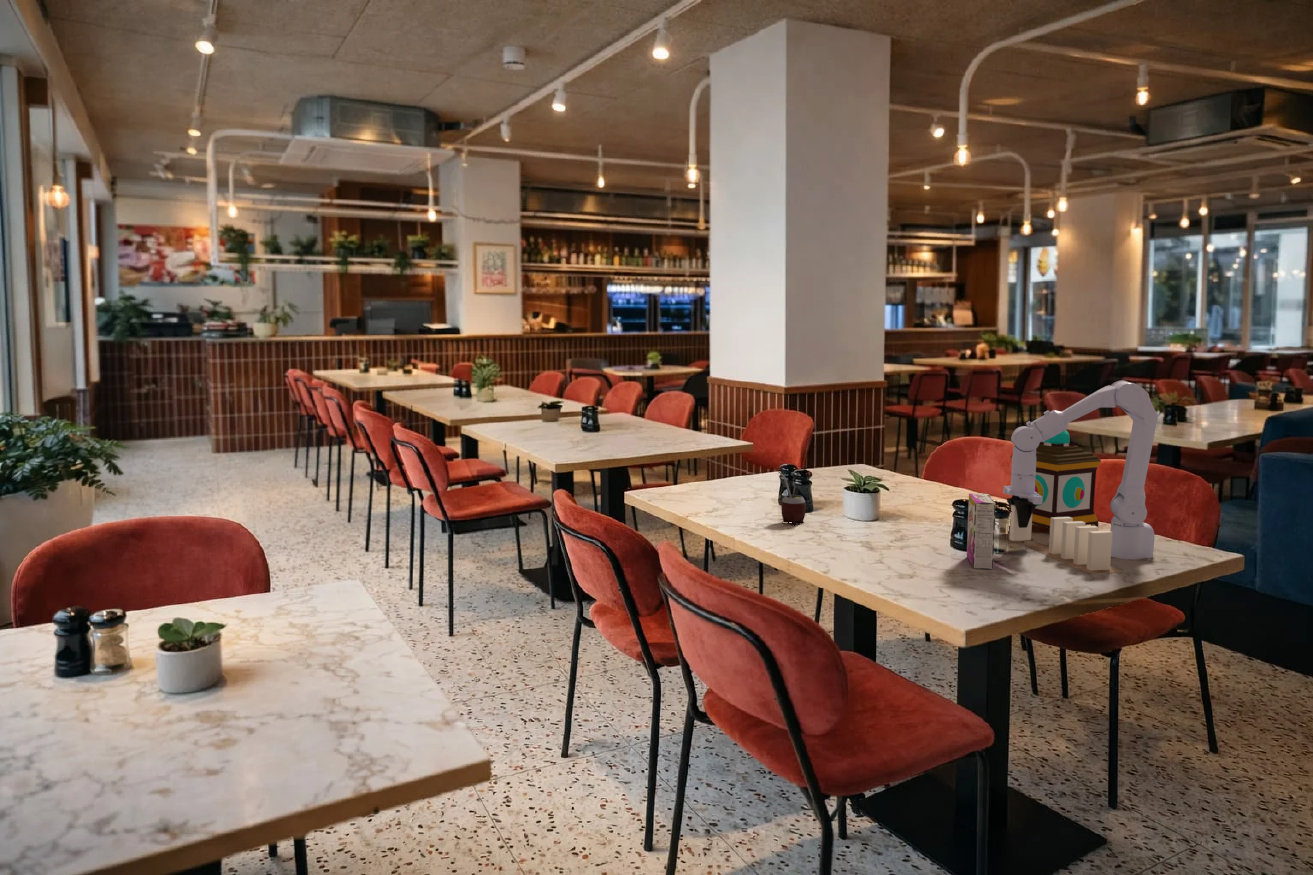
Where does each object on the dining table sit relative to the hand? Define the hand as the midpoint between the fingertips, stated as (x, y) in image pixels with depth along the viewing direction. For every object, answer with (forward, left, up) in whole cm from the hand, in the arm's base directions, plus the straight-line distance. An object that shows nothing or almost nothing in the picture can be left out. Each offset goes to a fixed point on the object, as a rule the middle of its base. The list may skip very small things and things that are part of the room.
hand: (1020, 526), depth 226 cm
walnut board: (-8, +10, -7) cm, 14 cm away
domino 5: (-8, +20, -6) cm, 22 cm away
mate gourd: (+48, -41, -7) cm, 63 cm away
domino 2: (-8, +5, -6) cm, 11 cm away
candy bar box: (+16, +8, -7) cm, 19 cm away
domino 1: (0, 0, -3) cm, 3 cm away
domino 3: (-8, +10, -6) cm, 14 cm away
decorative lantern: (-22, -21, -7) cm, 31 cm away
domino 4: (-8, +15, -6) cm, 18 cm away
